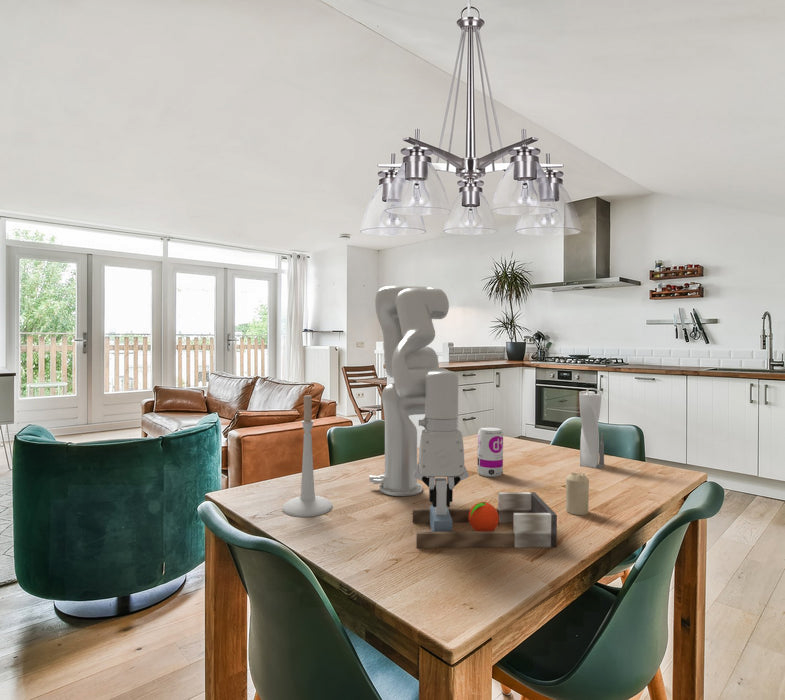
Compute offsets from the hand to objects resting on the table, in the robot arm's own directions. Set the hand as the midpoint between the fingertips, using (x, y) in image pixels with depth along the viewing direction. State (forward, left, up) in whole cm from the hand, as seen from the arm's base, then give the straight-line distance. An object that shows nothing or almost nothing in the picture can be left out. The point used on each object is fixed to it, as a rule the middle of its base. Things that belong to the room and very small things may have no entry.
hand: (440, 504), depth 112 cm
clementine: (+10, 0, -7) cm, 12 cm away
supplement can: (+22, +49, -7) cm, 54 cm away
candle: (+37, +14, -7) cm, 40 cm away
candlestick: (-33, +17, -7) cm, 38 cm away
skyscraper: (+60, +60, -7) cm, 85 cm away
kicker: (0, 0, -7) cm, 7 cm away
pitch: (+9, 0, -7) cm, 11 cm away
